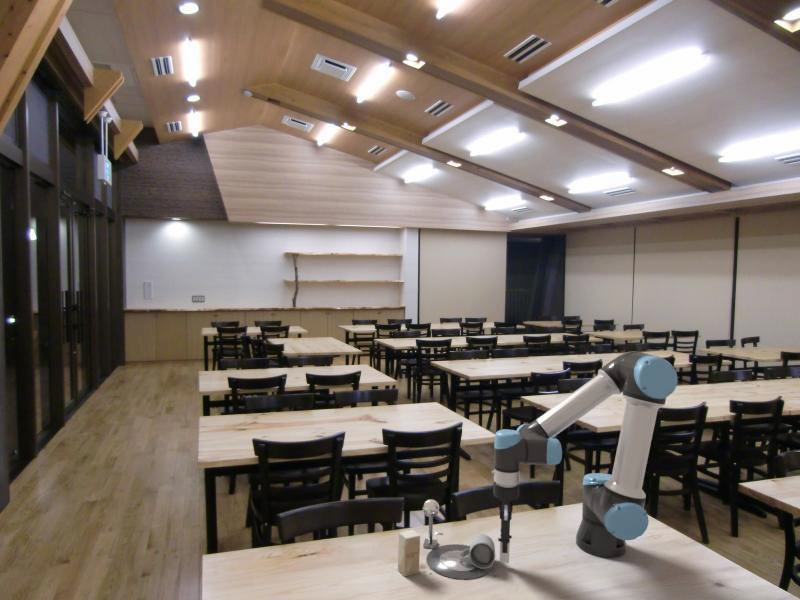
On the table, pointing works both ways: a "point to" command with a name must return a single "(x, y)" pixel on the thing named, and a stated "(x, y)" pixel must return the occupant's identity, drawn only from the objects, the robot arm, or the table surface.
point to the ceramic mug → (480, 552)
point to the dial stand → (431, 522)
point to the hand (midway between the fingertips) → (504, 561)
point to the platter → (453, 563)
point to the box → (408, 553)
